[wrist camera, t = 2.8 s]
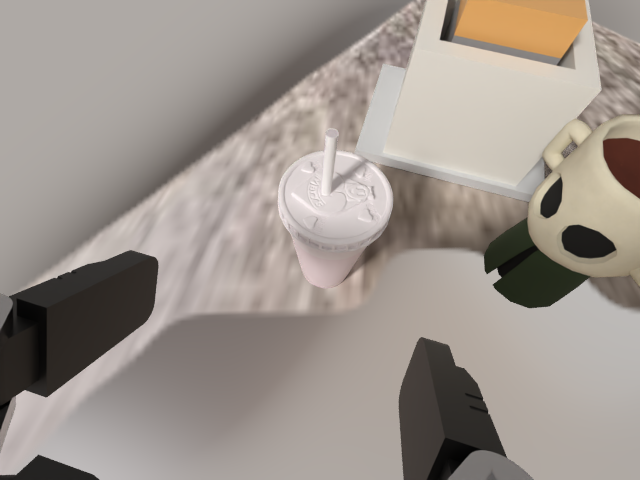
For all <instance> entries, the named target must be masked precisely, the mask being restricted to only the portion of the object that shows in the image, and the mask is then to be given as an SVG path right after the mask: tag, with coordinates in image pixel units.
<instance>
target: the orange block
mask: <svg viewBox="0 0 640 480" xmlns="http://www.w3.org/2000/svg"><path fill="white" fill-rule="evenodd" d="M587 21H588V17H587V10H586V3H585V0H457V3H456V5H455V8H454V11H453V14H452V16H451V19H450V22H449V25H448V27H447V30H446V33H445V35H444V38H443V41H447V42H451V43H456V44H461V45H465V46H470V47H474V48H479V49H483V50H488V51H492V52H497V53H501V54H506V55H511V56H515V57H520V58H524V59H529V60H533V61H538V62H542V63H547V64H551V65H557V64H558V62H559V61H560V59H561V58H562V57H563V55H564V54H565V52H566V51H567V49H568V48H569V47H570V45H571V44H572V42H573V41H574V39H575V38H576V37H577V35H578V34H579V32H580V31H581V29H582V28H583V27H584V25H585V24H586V22H587Z"/></svg>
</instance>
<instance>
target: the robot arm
mask: <svg viewBox="0 0 640 480" xmlns="http://www.w3.org/2000/svg"><path fill="white" fill-rule="evenodd" d="M157 275H158V261H157V259H156V258H155V257H152V256H149V255H145V254H142V253H139V252H135V251H132V250H130V251H127V252H124V253H122V254H120V255H117V256H115V257H112V258H110V259H108V260H105V261H102V262H97V263H91V264H87V265H85V266H82V267H80V268H77V269H75V270H72V272H71V273H70V272H67V273H65V274H63V275H60V276H58V278H53V279H50V280H48V281H45V282H43V283H41V284H38V285H36V286H33V287H31V288H28V289H26V290H24V291H21V292H19V293H16V294H14V295H11V296H9V297H8V296H6V295H3V294H0V452H1V449H2V446H3V443H4V440H5V437H6V434H7V431H8V428H9V425H10V422H11V419H12V416H13V413H14V410H15V406H16V395H18V394H19V393H21V392H22V391H24V390H26V391H29V392H32V393H35V394H38V395H41V396H44V397H48V396H49V395H51V394H52V393H53V392H54V391H56V390H57V389H58V388H60V387H61V386H62V385H64V384H65V383H66V382H68V381H69V380H70V379H72V378H73V377H74V376H76V375H77V374H78V373H80V372H81V371H82V370H84V369H85V368H86V367H87V366H89V365H90V364H91V363H93V362H94V361H95V360H97V359H98V358H99V357H101V356H102V355H103V354H105V353H106V352H107V351H109V350H110V349H111V348H113V347H114V346H115V345H116V344H118V343H119V342H120V341H122V340H123V339H124V338H126V337H127V336H128V335H130V334H131V333H132V332H134V331H135V330H136V329H138V328H139V327H140V326H142V325H143V324H144V323H145V322H146V321H147V320H148V318H149V317H150V315H151V313H152V311H153V308H154V303H155V293H156V284H157ZM399 418H400V431H401V444H402V445H401V447H402V461H403V474H404V475H403V476H404V480H533V479H532V477H531V476H530V475H528V473H526V472H525V471H524V470H523V469H522V468H521V467H519V466H518V465H517V464H515V463H514V462H513V461H511V460H509V459H508V458H507V456H506V454H505V452H504V449H503V446H502V444H501V441H500V439H499V436H498V434H497V432H496V429H495V427H494V424H493V422H492V419H491V417H490V415H489V414H488V409H487V407H486V404H485V402H484V401H483V397H482V394H481V392H480V389H479V387H478V384H477V383H476V382H475V381H474V379H473V378H472V377H471V376H470V375H469V373H468V372H467V371H466V370H465V369H464V368H461V367H457V366H456V365H455V362H454V359H453V356H452V353H451V350H450V348H449V346H448V345H446V344H443V343H439V342H436V341H433V340H430V339H426V338H423V337H421V338H420V339H419V340H418V342H417V345H416V347H415V350H414V352H413V355H412V358H411V360H410V363H409V366H408V369H407V371H406V375H405V377H404V379H403V382H402V386H401V390H400V395H399ZM0 480H99V479H98V478H96V477H95V476H94V475H92V474H90V473H87V472H84V471H81V470H79V469H76V468H73V467H70V466H68V465H65V464H62V463H59V462H57V461H54V460H51V459H49V458H46V457H43V456H40V455H38V456H37V457H35V458H34V459H33V460H32V461H31V462H30V463H29V464H28V465H27V466H26V467H24V468H23V469H22V470H21V471H20V472H19V473H18V474H17V475H0Z"/></svg>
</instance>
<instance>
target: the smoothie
mask: <svg viewBox="0 0 640 480" xmlns="http://www.w3.org/2000/svg"><path fill="white" fill-rule="evenodd" d="M338 135H339V133H338V131H337V130H336V129H328V130H327V131H326V137H325V149H324V150H323V151H318V152H314V153H311V154H308V155H306V156H304V157H302V158H300V159H298V160H297V161H295V162H294V163H293V164H292V165H291V166H290V167H289V168H288V169H287V170H286V172H285V173H284V175H283V176H282V179H281V181H280V184H279V189H278V209H279V215H280V217H281V220H282V222H283V224H284V226H285V228H286V229H287V230H288V231H289V232H290V233H291V236H292V239H293V242H294V246H295V249H296V252H297V256H298V259H299V262H300V265H301V269H302V272H303V275H304V276H305V278H306V279H307V280H308V281H309V282H310V283H311V284H313V285H314V286H317V287H320V288H331V287H335V286H337V285H339V284H340V283H341V282H342V281H343V280H344V279H345V278H346V276H347V275H348V273H349V272H350V270H351V269H352V267H353V266H354V264H355V263H356V261H357V260H358V258H359V257H360V256H361V254H362V253H363V251H364V250H365V248H366V247H367V246H368V245H370V244H371V243H372V242H373V241H375V240H376V239H377V238H379V237H380V235H381V234H382V233H383V231H384V230H385V228H386V227H387V225H388V222H389V219H390V215H391V212H392V207H393V192H392V188H391V185H390V183H389V181H388V179H387V177H386V176H385V175H384V173H383V172H382V171H381V170H380V169H379V168H378V167H377V166H376V165H375V164H374V163H372V162H371V161H369V160H368V159H366V158H364V157H362V156H360V155H358V154H355V153H351V152H347V151H342V150H337V142H338Z"/></svg>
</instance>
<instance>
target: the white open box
mask: <svg viewBox="0 0 640 480" xmlns="http://www.w3.org/2000/svg"><path fill="white" fill-rule="evenodd" d="M456 3H457V0H426V2H425V6H424V9H423V13H422V16H421V20H420V23H419V26H418V30H417V33H416V37H415V40H414V43H413V47H412V50H411V54H410V57H409V61H408V64H407V67H406V69H404V68H400V67H395V66H391V65H387V64H383V66H382V70H381V73H380V76H379V79H378V82H377V85H376V88H375V91H374V94H373V97H372V100H371V103H370V106H369V109H368V112H367V115H366V118H365V122H364V125H363V128H362V131H361V134H360V137H359V140H358V143H357V146H356V149H355V154H358V155H360V156H362V157H364V158H366V159H368V160H369V161H371V162H374V163H378V164H382V165H386V166H390V167H394V168H398V169H402V170H405V171H409V172H413V173H417V174H421V175H425V176H429V177H433V178H437V179H440V180H444V181H448V182H452V183H456V184H460V185H464V186H468V187H472V188H475V189H479V190H483V191H487V192H491V193H495V194H499V195H503V196H507V197H511V198H514V199H518V200H522V201H526V202H529V201H530V200H531V198H532V196H533V194H534V192H535V190H536V188H537V187H538V186H539V185H540V184H541V183H542V182H543V181H544V180H545V173H544V159H543V156H542V153H543V151H544V149H545V148H546V147H547V145H548V144H549V143H550V142H551V141H552V140H553V138H554V137H555V136H556V135H557V134H558V133H559V132H560V130H561V129H562V128H563V127H564V126H565V125H566V124H567V123H569V122H570V121H572V120H573V119H575V118H577V117H578V116H579V115H580V113H581V112H582V111H583V110H584V109H585V108H586V107H587V106H588V104H589V103H590V102H591V101H592V100H593V99H594V98H595V96H596V95H597V94H598V93H599V92H600V91H601V83H600V76H599V69H598V62H597V56H596V49H595V42H594V35H593V28H592V21H591V14H590V8H589V1H588V0H585V3H586V10H587V17H588V21H587V22H586V24H585V25H584V27H583V28H582V29H581V31H580V32H579V34H578V35H577V37H576V38H575V39H574V41H573V42H572V44H571V45H570V47H569V48H568V49H567V51H566V52H565V54H564V55H563V57H562V58H561V59H560V61H559V62H558V64H557V65H551V64H547V63H542V62H538V61H533V60H529V59H524V58H520V57H515V56H511V55H506V54H501V53H497V52H492V51H488V50H483V49H479V48H474V47H470V46H465V45H461V44H456V43H451V42H447V41H443V38H444V35H445V33H446V30H447V27H448V25H449V22H450V19H451V16H452V14H453V11H454V8H455V5H456Z"/></svg>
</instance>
